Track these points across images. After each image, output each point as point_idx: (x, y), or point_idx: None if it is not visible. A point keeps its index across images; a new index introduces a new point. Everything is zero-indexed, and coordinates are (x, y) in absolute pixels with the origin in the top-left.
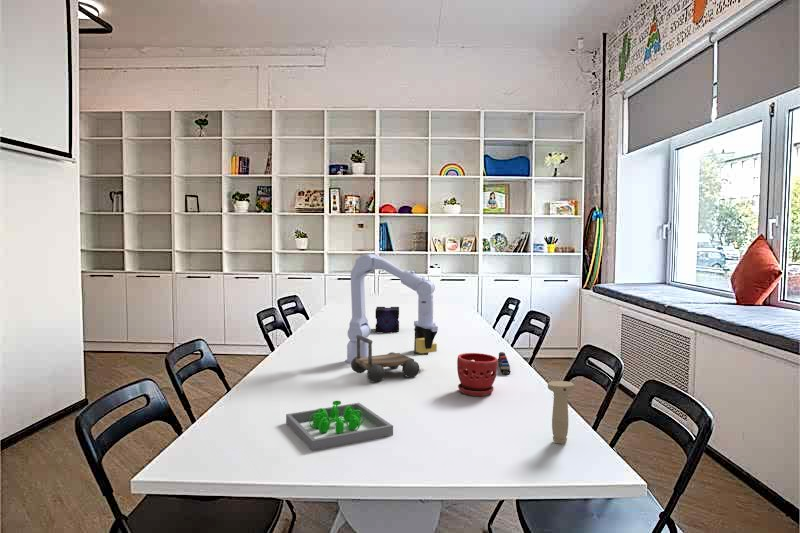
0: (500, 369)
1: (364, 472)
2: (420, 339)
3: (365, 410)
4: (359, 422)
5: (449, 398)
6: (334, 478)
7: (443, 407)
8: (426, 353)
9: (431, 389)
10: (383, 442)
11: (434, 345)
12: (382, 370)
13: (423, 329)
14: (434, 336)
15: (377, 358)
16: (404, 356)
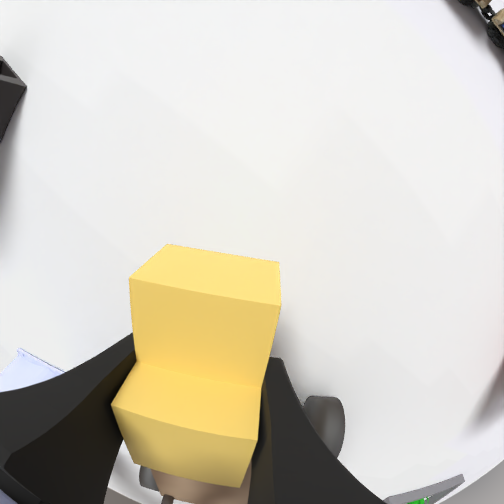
0: (499, 42)
1: (465, 485)
2: (195, 473)
3: (414, 500)
4: (428, 500)
5: (498, 394)
6: (450, 495)
7: (496, 418)
8: (19, 92)
9: (448, 406)
10: None
11: (275, 326)
12: None
13: (62, 493)
14: (343, 469)
15: (198, 488)
16: None
